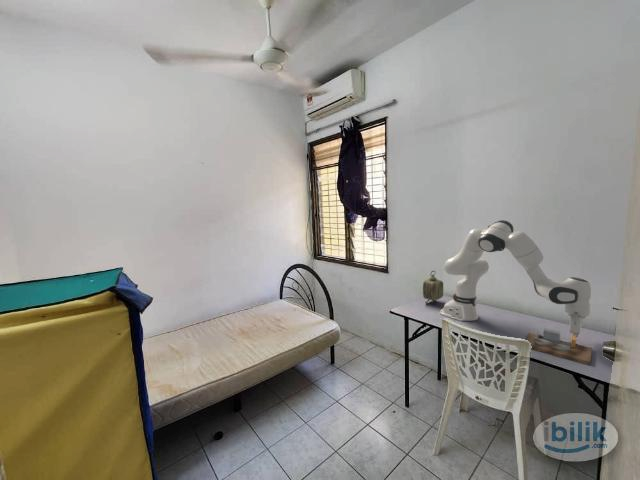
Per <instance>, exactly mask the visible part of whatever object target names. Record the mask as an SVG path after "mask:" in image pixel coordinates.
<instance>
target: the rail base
mask: <svg viewBox="0 0 640 480" xmlns="http://www.w3.org/2000/svg"><path fill="white" fill-rule="evenodd" d="M525 339H526V340H528V341H529V342H530V343H531V346H532V349H531V350H533V349H534V351H537V350H538V351H537V352H541V351H542V353H544V352H545V354H548V353H549V354H548V355H551V354H552V356H555V357H558V358H559V357H560V358H562V359H567V360H571V361H575V362H577V363H580V364H585V365H588V366H591V361H592V360H591V359H592V350H593V349H592V347H591V346H590V347H589V346H586V345H581V344H578V343H576V345H575V347H572V341H570V340H566V339H561V338H560V344H559V343H555V342H551V341H547V340H543V334H541V333H536V334H535V333H532V332H529V333H528V334H527V336H526V338H525Z"/></svg>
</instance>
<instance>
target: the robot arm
mask: <svg viewBox="0 0 640 480" xmlns="http://www.w3.org/2000/svg"><path fill="white" fill-rule="evenodd" d="M505 249H507V250H508V251H509V252H510V253H511V254H512V256H513V257H514V259H515V260H516V262H518V264H519V265H521V266H522V268H523V269H524V270H525V271H526V273H527V275H528V276H529V278H530V280H531V281H532V282H533V283H532V284H533V288H534V291H535V292H536V294H537V296H540V297H542V298H544V299H546V300H548V301H550V302H551V303H553V304H557V305H564V311H565V313H566V314H568V316H569V317H570V319H569V329H568V330H569V333H570V334H571V333H572V336H573V335H575V336H576V338H578V337H579V335H580V334H581V330H582V325H583V322H584V319H586V317H589V316H590V314H591V313H590V312H591V303H590V300H591V295H592V290H591V284H590V282H589V281H587V280H585V279H583V278H580V277H575V276H570V277H568V278H567V279H565V280H564V281H561V282H556V281H554V280H552V279H550V278H549V277H548V276H547V275H546V274H545V271H544V270H543V269H542V268H541V266H540V264H541V263H542V262H543V261H544V255H543V252H542V251H541V249H540V248H539V247H538V245H537V244H536V243H535V241H534V240H533V239H532V238H531V237H530V236H528V235H527V233H525V232H524V231H519V230H518V231H514V226H513V223H511V222H509V221H508V220H500V219H499V220H498V221H495V222H493V223H491V224H489V225H488V226H487V228H485V229H483V228H473V229H471V230H470V231H469V232H468V234H467V236H466V238H465V239H464V243H463V245H462V247H461V249H460V251H458V253H457V254H456V255H454V256H453V257H451V258H449V259H446V261H445V262H444V265H443V266H444V270H445V272H446V273H447V274H448V275H452V276H464V277H463V278H461V279H460V280H458V281H457V282H456V286H455V287H456V289H455V293H454V294H453V295H452V299H450V300H449V301H447V302H445V304H444V306H443V308H441V309H440V311H439V314H440V315H442V316H444V317H447V318H451V319H454V320H456V321H461V322H464V321H468V322H469V321H477V320H478V319H479V316H478V313H477V295H476V292H477V290H476V289H477V284H478V282H479V280H480V278H481V277H482V276H484V275H485V274H487V272H488V271H489V268H490V266H489V262H488V261H487V260H486V259H485V258H481V257H482V255H483V253H484V252H487V253H494V252H495V253H496V252H502V251H504V250H505Z"/></svg>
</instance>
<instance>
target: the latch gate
mask: <svg viewBox="0 0 640 480" xmlns="http://www.w3.org/2000/svg"><path fill="white" fill-rule="evenodd" d="M571 343H572V347H575V345H576V344H577V337H576V336H575V335H573V334H572V337H571Z"/></svg>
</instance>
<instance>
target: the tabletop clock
mask: <svg viewBox="0 0 640 480" xmlns="http://www.w3.org/2000/svg"><path fill="white" fill-rule="evenodd" d="M432 273H433V274H432ZM435 275H436V270H431V272H430V275H429V276H430V277H429V278H428V279H425V280H424V281H423V283H422V295H423V296H422V297H423V299H425V300H427V301H425V305H427V304H428V302H429V301H435V302H434V303H435V305H437V304H438V301H437V300H440V299H441V298H443V297H444V281H442V280H440V279H437V277H436V276H435Z"/></svg>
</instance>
